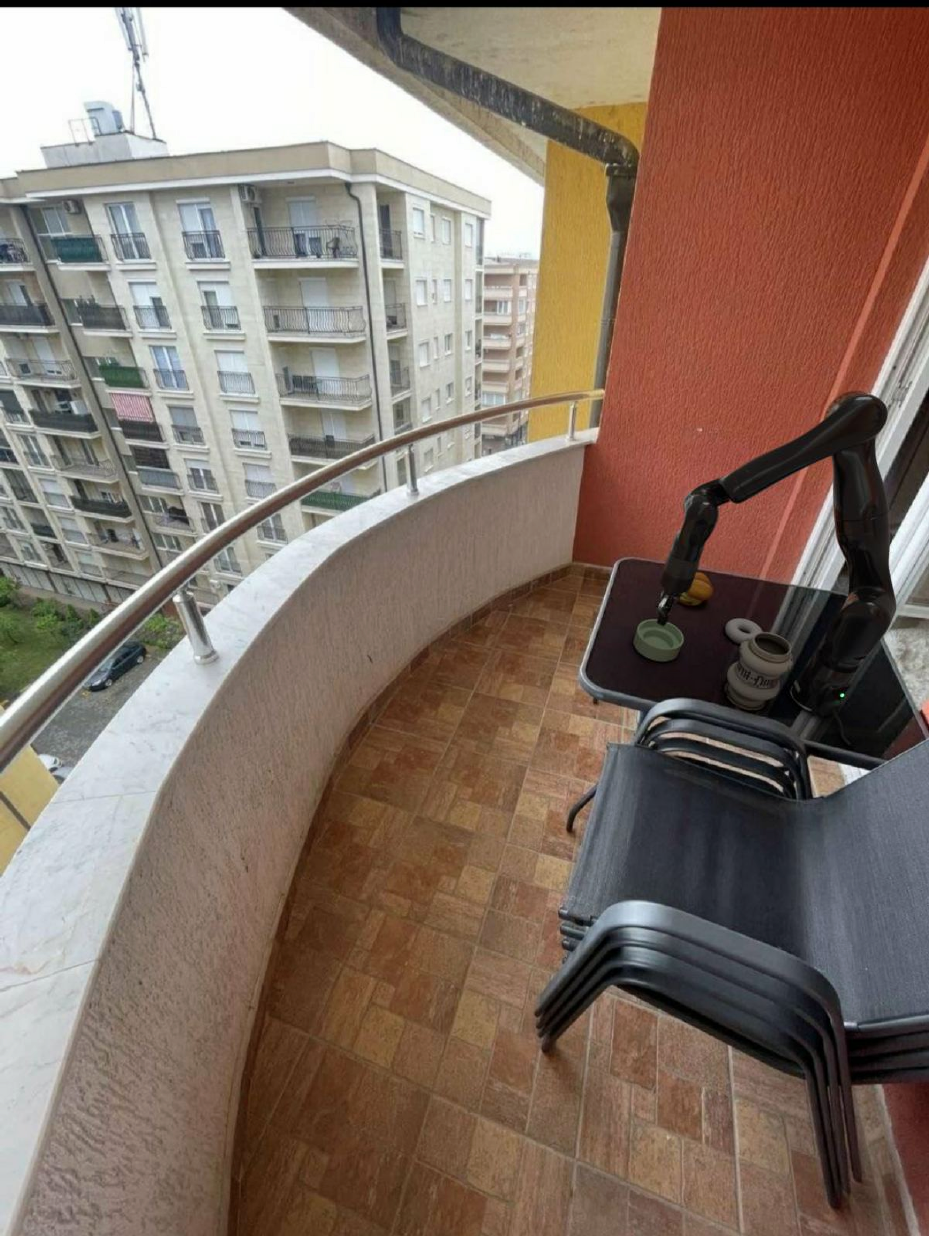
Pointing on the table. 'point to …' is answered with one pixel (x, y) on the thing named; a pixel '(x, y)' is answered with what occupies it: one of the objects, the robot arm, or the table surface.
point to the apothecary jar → (758, 670)
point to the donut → (741, 624)
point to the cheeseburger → (697, 591)
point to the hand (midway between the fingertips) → (661, 623)
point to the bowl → (658, 640)
